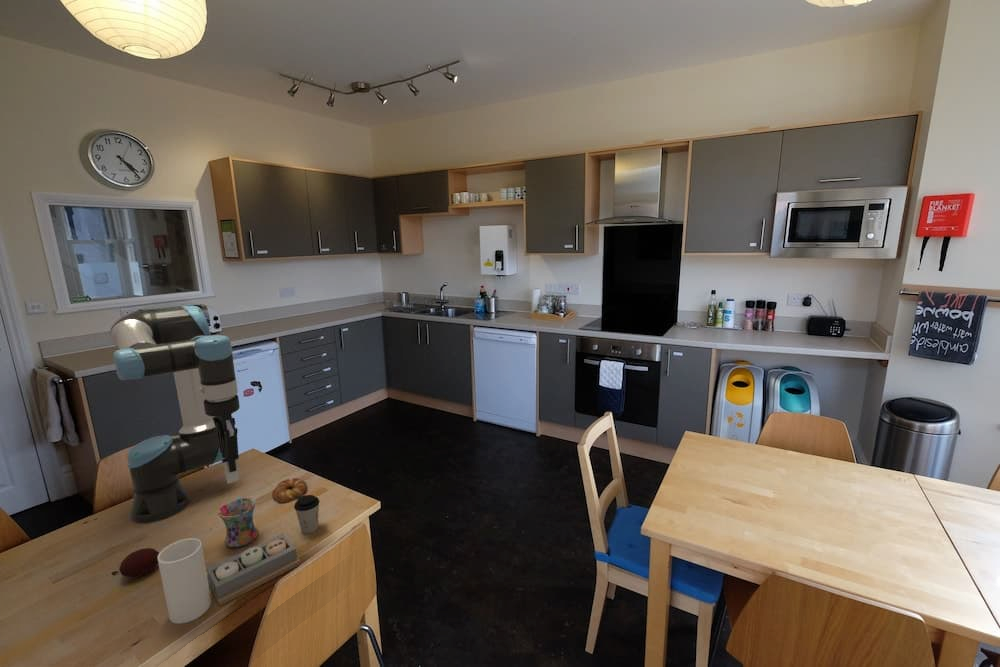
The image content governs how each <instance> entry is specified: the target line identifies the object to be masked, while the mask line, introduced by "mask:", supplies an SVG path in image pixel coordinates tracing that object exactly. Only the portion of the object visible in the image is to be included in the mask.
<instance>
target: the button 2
mask: <svg viewBox="0 0 1000 667" xmlns="http://www.w3.org/2000/svg"><path fill="white" fill-rule="evenodd" d="M242 552H243V553H242ZM242 552H241V553H242V554H241V560H242V566H243V568H244V569H245V568H247V567H249V566H251V565H254V564H256V563H258V562H260V561H262V560H263V553H262V548H261V547H255V546H252V547H249V548H247V549H245V550H243V551H242Z"/></svg>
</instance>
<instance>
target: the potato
mask: <svg viewBox="0 0 1000 667" xmlns="http://www.w3.org/2000/svg"><path fill="white" fill-rule="evenodd" d="M159 553H160V552H159V551H158V550H156V549H155V548H152V547H151V548H150V547H147V548H146V547H145V548H140V549H137V550H134V551H132V552H131V553H129V554H128V555H126V556H125V557H124V558H123V559H122V561H121V563H120V565H119V573H120V574H121V576H123V577H125V578H129V579H131V578H139V577H140V576H144V575H146V574H148V573H149V572H151V571H152V570H154V569H155V568H156V567H157V566H159V563H158V555H159Z"/></svg>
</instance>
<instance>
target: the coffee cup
mask: <svg viewBox="0 0 1000 667" xmlns="http://www.w3.org/2000/svg"><path fill="white" fill-rule="evenodd" d="M319 505H320V499H319V498H318V497H317V496H315V495H313V494H307V495H306V494H305V495H301V496H300V497H299V498H297V500H296V502H295V503H294V507H293V508H294V510H295V512H296V516H297V519H298V520H297V521H298V524H299V528H300V531H301V533H302V534H303V535H311V534H314V533H315V532H317V530H319V509H320V507H319Z"/></svg>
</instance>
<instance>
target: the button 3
mask: <svg viewBox="0 0 1000 667" xmlns="http://www.w3.org/2000/svg"><path fill="white" fill-rule="evenodd" d="M285 549H286V543H285V541H284V540H275V541H272V542H270V543H269V544H268V545H267V546H266V554H267V555H268V557H270V556H272V555H274V554H276V553H279V552H281V551H283V550H285Z"/></svg>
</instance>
